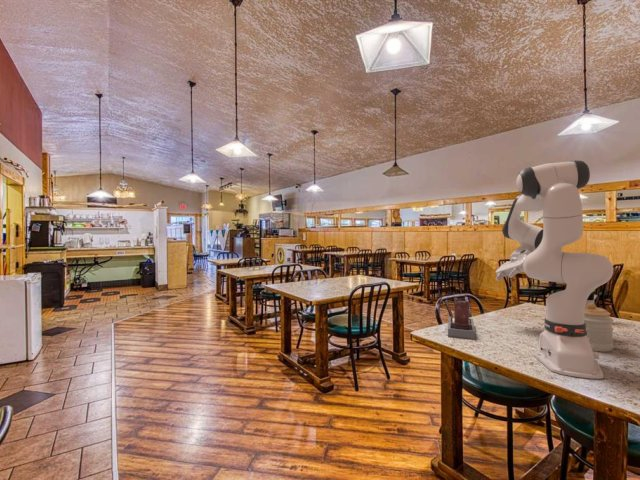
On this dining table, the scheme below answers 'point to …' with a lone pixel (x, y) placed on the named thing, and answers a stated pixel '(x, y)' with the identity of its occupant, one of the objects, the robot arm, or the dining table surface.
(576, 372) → the robot arm
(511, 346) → the dining table surface
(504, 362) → the dining table surface
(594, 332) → the jar
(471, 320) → the tray
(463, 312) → the can
